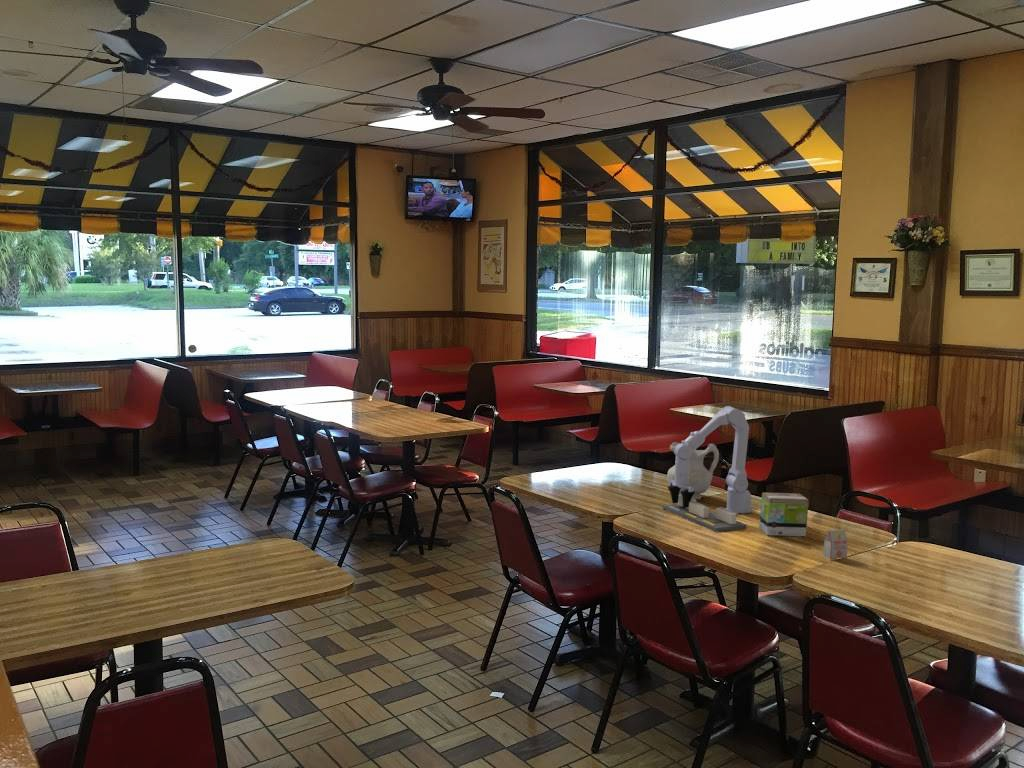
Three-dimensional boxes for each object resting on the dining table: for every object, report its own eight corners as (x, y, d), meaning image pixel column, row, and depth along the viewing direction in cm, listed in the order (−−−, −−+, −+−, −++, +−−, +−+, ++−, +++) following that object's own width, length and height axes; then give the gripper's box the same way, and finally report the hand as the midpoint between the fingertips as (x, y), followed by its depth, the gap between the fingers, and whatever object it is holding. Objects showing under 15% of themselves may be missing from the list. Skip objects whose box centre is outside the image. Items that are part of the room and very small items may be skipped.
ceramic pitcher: (709, 495, 392) (710, 440, 392) (722, 502, 373) (723, 445, 372) (662, 494, 391) (663, 440, 390) (673, 502, 372) (674, 444, 371)
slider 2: (693, 511, 351) (694, 500, 351) (708, 517, 342) (709, 506, 342) (688, 511, 350) (689, 500, 350) (703, 517, 341) (704, 506, 341)
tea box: (767, 536, 324) (769, 498, 322) (758, 529, 334) (761, 491, 332) (806, 537, 324) (809, 498, 323) (797, 529, 334) (799, 492, 333)
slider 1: (681, 504, 363) (682, 493, 362) (695, 509, 354) (696, 498, 353) (676, 504, 362) (677, 493, 361) (690, 510, 353) (691, 499, 352)
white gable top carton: (823, 557, 300) (825, 529, 299) (839, 555, 302) (841, 528, 301) (830, 560, 297) (831, 532, 296) (846, 559, 299) (848, 530, 298)
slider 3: (720, 517, 343) (720, 506, 342) (736, 523, 334) (736, 512, 333) (715, 517, 342) (715, 506, 341) (731, 524, 333) (731, 512, 332)
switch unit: (691, 506, 367) (691, 502, 367) (746, 528, 334) (746, 523, 334) (662, 508, 361) (662, 504, 361) (715, 531, 328) (715, 527, 328)
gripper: (663, 470, 360) (662, 501, 361) (684, 477, 347) (682, 510, 348) (677, 468, 363) (676, 500, 364) (698, 476, 349) (696, 508, 351)
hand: (680, 505), depth 356 cm, fingers open, 7 cm apart
